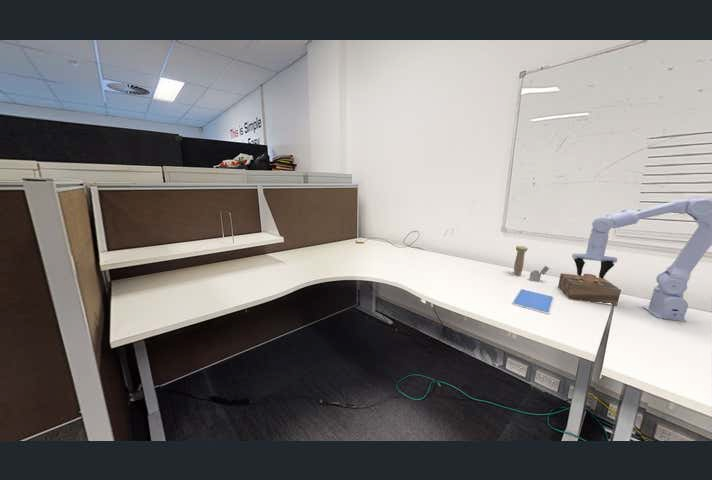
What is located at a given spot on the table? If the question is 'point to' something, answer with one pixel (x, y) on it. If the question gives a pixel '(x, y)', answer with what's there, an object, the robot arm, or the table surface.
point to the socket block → (588, 289)
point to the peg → (589, 278)
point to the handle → (519, 259)
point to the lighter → (538, 274)
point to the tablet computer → (534, 301)
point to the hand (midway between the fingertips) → (589, 276)
